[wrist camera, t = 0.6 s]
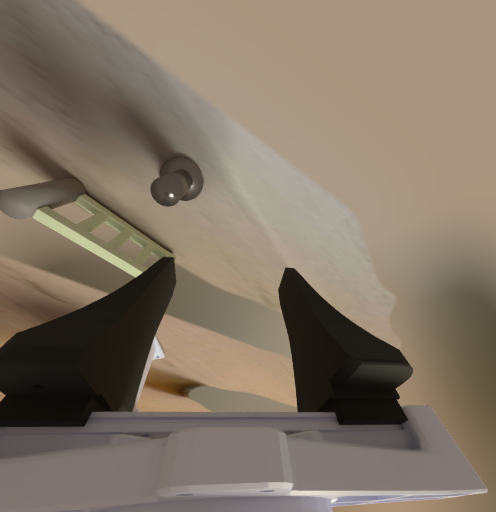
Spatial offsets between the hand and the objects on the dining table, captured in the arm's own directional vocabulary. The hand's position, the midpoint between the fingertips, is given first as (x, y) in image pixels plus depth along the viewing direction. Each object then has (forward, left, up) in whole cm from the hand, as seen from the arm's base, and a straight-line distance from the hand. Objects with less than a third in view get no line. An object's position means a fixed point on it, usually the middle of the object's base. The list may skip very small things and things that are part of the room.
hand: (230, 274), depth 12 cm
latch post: (-4, +5, -11) cm, 12 cm away
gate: (-11, +1, -10) cm, 15 cm away
